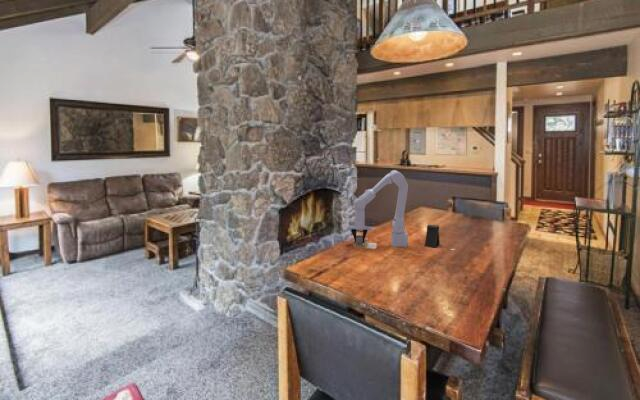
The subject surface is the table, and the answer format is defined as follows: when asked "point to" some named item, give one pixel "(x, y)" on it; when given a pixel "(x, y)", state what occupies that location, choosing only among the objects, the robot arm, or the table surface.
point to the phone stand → (432, 236)
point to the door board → (365, 244)
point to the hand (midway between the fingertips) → (359, 242)
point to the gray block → (359, 239)
